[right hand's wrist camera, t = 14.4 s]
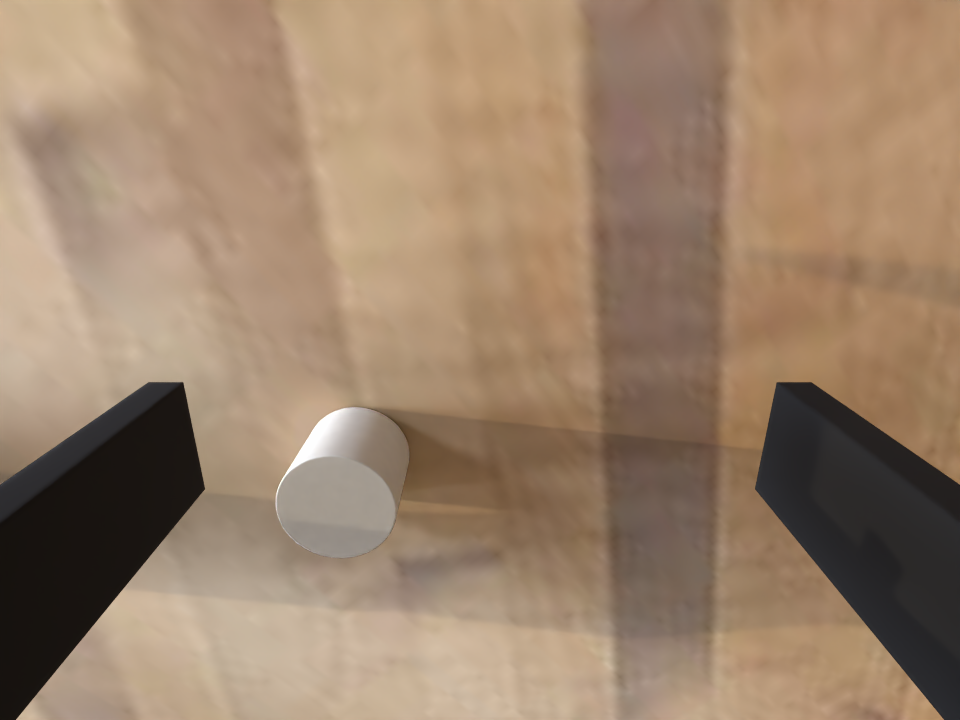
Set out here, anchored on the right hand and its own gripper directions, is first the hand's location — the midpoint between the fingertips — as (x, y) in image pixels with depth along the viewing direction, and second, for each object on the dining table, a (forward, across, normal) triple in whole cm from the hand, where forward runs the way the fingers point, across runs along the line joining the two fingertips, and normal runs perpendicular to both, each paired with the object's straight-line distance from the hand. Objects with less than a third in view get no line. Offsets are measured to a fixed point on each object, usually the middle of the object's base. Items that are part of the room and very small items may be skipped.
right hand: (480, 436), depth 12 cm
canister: (+9, -5, -6) cm, 12 cm away
